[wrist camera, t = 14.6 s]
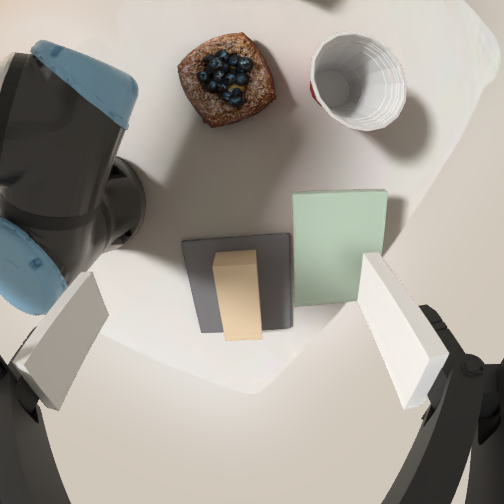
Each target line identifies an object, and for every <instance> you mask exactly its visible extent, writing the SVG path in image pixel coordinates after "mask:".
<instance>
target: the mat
mask: <svg viewBox="0 0 504 504" xmlns="http://www.w3.org/2000/svg"><path fill="white" fill-rule="evenodd" d="M182 248H183V253H184V258H185V263H186V268H187V273H188V277H189V282H190V287H191V291H192V295H193V300H194V304H195V308H196V313H197V317H198V321H199V325H200V329H201V333H218V332H224V336H225V341H238V340H257V339H262V330H273V329H286V328H290V252H289V233H284V234H269V235H255V236H242V237H228V238H215V239H203V240H190V241H182Z"/></svg>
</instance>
